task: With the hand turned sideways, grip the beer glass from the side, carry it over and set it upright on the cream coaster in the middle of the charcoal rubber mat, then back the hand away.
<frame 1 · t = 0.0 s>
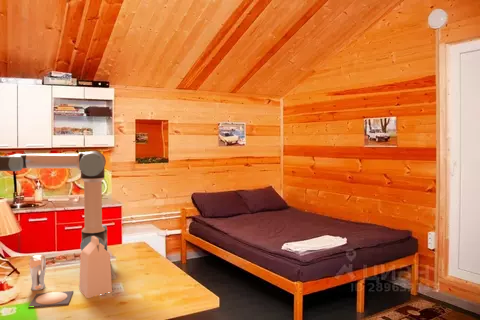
mat: (51, 300, 189), on the table
beer glass: (38, 288, 202), on the table
milk: (95, 291, 200), on the table
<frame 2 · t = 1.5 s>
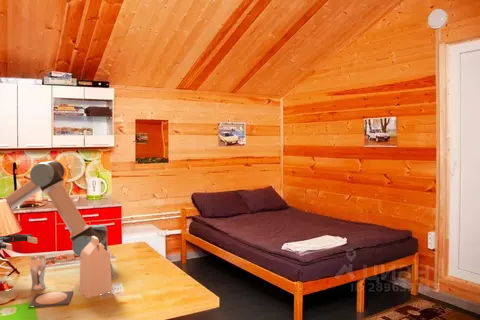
hand: (24, 244, 205), 20 cm above the table, tool horizontal, fingers open, 13 cm apart
nothing on the table moved.
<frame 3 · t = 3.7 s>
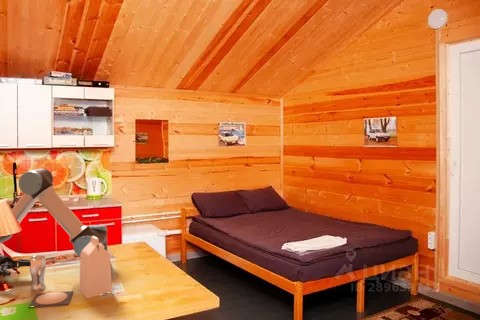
hand: (29, 270, 204), 8 cm above the table, tool horizontal, fingers open, 13 cm apart
nothing on the table moved.
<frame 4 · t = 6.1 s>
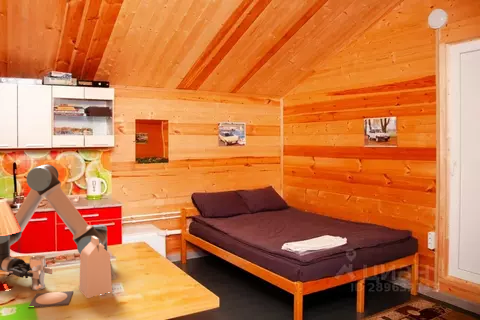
hand: (45, 273, 199), 8 cm above the table, tool horizontal, fingers closed on beer glass, 6 cm apart
beer glass: (38, 288, 202), on the table, touching gripper
everything else where it was.
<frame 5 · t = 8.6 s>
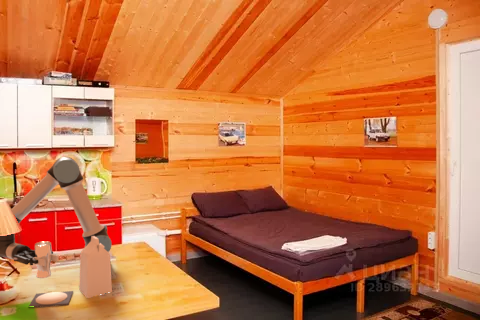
hand: (50, 260, 188), 18 cm above the table, tool horizontal, fingers closed on beer glass, 6 cm apart
beer glass: (43, 276, 191), point 10 cm above the table, touching gripper
everything else where it was.
when the fingers open (10 cm above the table, at t = 11.2 s): beer glass drops 1 cm, resting on mat.
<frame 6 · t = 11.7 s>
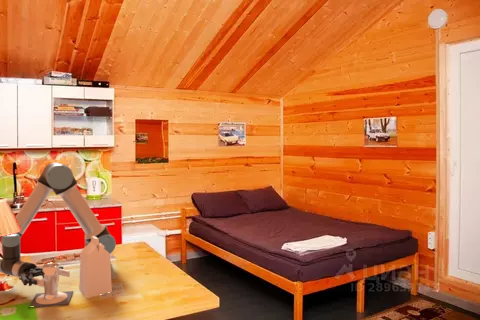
hand: (56, 278, 186), 10 cm above the table, tool horizontal, fingers open, 13 cm apart
beer glass: (51, 298, 188), point 1 cm above the table, touching mat
everything else where it was.
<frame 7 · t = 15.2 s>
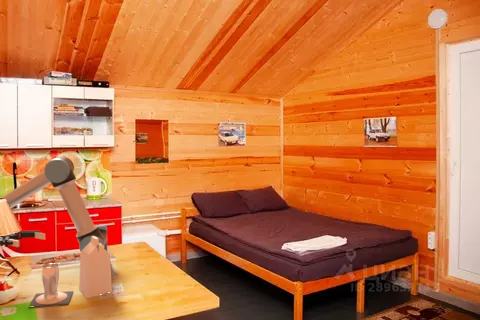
hand: (32, 240, 196), 25 cm above the table, tool horizontal, fingers open, 13 cm apart
nothing on the table moved.
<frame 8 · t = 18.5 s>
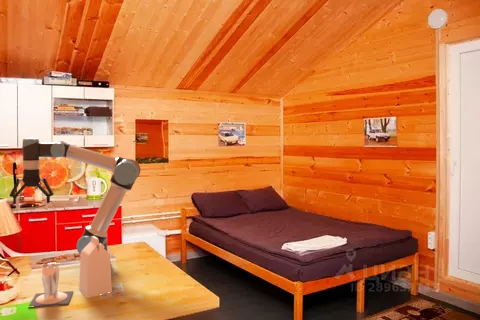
hand: (32, 209, 215), 35 cm above the table, tool pointing down, fingers open, 13 cm apart
nothing on the table moved.
at the end: beer glass inside the target area on the mat (0.4 cm from its centre), point 0.9 cm above the mat's base; beer glass tilted 0°; the gripper is holding nothing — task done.
